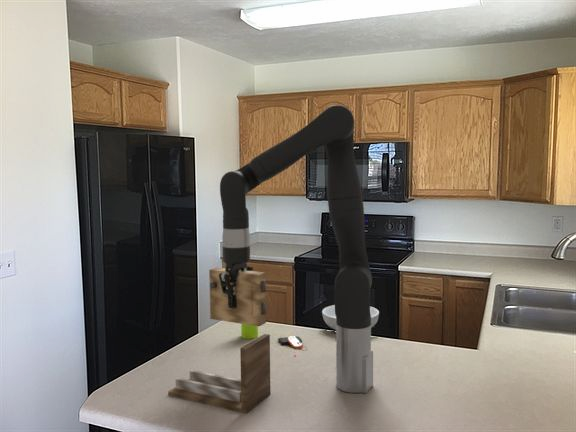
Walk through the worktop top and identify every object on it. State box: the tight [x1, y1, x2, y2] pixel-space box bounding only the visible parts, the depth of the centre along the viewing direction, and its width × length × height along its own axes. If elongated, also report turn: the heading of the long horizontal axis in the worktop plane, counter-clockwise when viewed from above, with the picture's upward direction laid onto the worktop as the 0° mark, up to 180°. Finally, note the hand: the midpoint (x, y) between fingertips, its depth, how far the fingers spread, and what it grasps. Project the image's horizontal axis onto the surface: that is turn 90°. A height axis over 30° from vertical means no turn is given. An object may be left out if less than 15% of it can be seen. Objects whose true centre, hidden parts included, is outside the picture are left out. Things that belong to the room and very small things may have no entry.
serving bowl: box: [321, 304, 380, 331], centre depth 190 cm, size 21×21×7 cm
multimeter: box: [277, 334, 308, 358], centre depth 170 cm, size 18×12×3 cm, turn 10°
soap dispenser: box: [240, 324, 259, 340], centre depth 181 cm, size 6×7×20 cm
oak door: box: [208, 267, 267, 327], centre depth 141 cm, size 17×5×14 cm, turn 62°
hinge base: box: [167, 333, 271, 414], centre depth 134 cm, size 24×12×16 cm, turn 63°
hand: (237, 305), depth 142 cm, fingers closed on oak door, 4 cm apart
